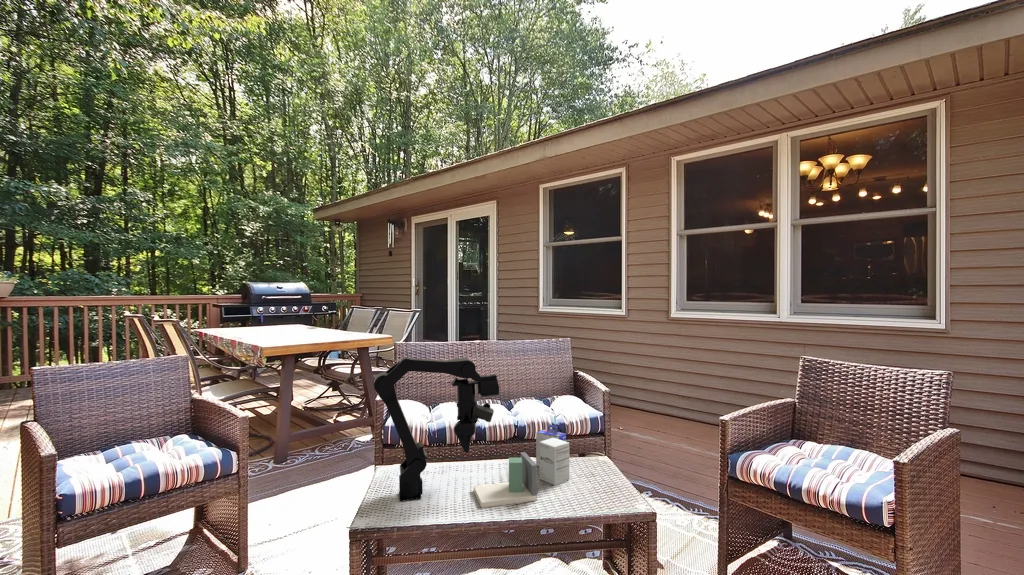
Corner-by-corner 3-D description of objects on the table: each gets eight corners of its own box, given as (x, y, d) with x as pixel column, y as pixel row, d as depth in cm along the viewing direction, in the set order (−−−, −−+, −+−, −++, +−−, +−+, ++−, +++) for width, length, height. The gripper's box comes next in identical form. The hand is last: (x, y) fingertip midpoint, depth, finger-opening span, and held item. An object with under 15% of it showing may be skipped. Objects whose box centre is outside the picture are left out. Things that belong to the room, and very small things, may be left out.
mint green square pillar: (509, 492, 142) (508, 462, 142) (508, 486, 147) (508, 457, 147) (522, 492, 142) (522, 462, 142) (521, 486, 147) (521, 457, 147)
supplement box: (538, 479, 156) (538, 441, 156) (554, 473, 161) (554, 436, 161) (554, 486, 150) (554, 446, 150) (570, 480, 155) (570, 441, 155)
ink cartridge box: (567, 467, 166) (567, 426, 166) (559, 472, 162) (558, 430, 162) (544, 461, 172) (543, 422, 172) (535, 466, 168) (535, 425, 168)
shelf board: (481, 507, 136) (481, 471, 136) (473, 491, 147) (473, 457, 147) (537, 500, 140) (536, 465, 140) (525, 484, 152) (525, 452, 152)
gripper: (490, 404, 140) (492, 457, 140) (492, 391, 158) (493, 437, 158) (453, 406, 139) (455, 458, 139) (459, 392, 158) (460, 438, 158)
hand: (467, 447), depth 149 cm, fingers open, 9 cm apart
